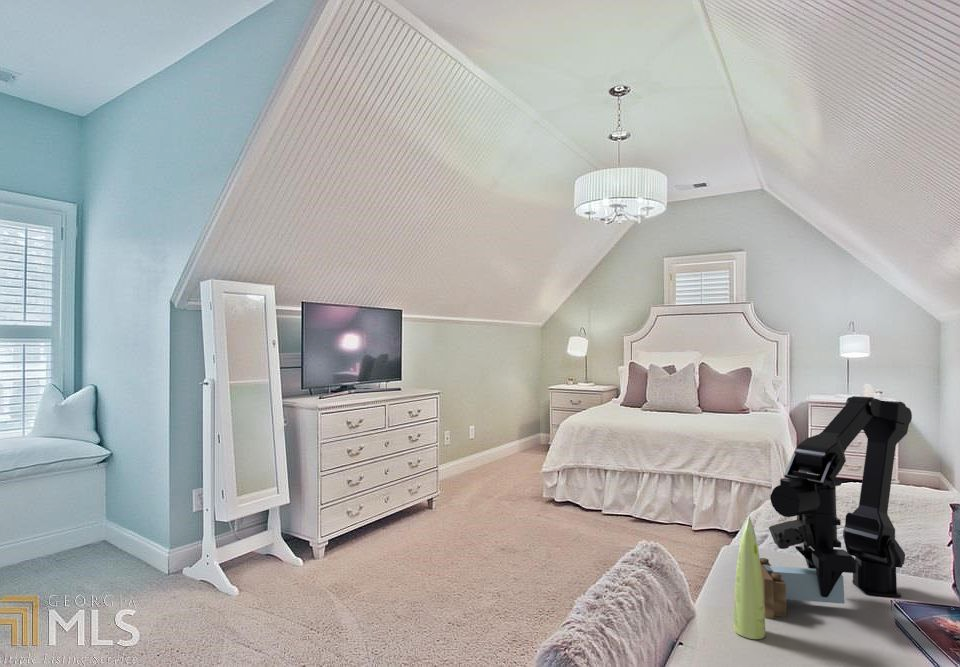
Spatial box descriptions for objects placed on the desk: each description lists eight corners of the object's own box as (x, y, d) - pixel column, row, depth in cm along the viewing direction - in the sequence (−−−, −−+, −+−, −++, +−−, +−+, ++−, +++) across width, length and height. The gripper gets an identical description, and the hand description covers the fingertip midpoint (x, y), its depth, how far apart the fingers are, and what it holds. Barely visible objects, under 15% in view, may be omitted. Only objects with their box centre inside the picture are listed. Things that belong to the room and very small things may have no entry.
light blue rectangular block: (837, 596, 107) (836, 568, 107) (844, 603, 104) (843, 575, 104) (763, 591, 110) (762, 564, 110) (768, 598, 106) (767, 570, 107)
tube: (775, 640, 93) (772, 522, 94) (749, 643, 92) (747, 524, 93) (751, 624, 99) (749, 513, 100) (726, 627, 98) (725, 515, 99)
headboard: (767, 589, 114) (766, 554, 115) (788, 620, 101) (787, 581, 101) (746, 587, 115) (746, 553, 116) (765, 618, 102) (764, 579, 102)
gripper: (760, 496, 118) (761, 571, 117) (788, 521, 99) (790, 610, 99) (818, 499, 115) (820, 576, 114) (858, 525, 97) (860, 616, 96)
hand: (820, 592), depth 106 cm, fingers closed on light blue rectangular block, 3 cm apart
